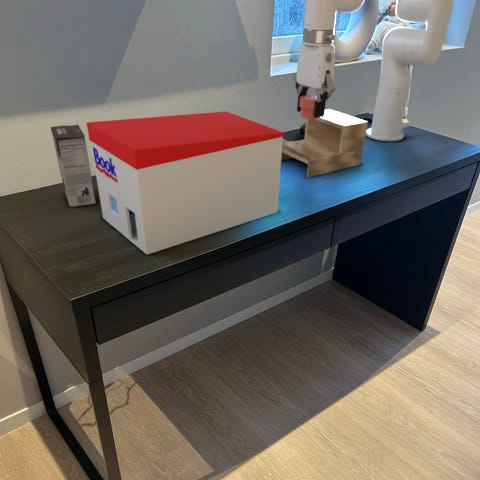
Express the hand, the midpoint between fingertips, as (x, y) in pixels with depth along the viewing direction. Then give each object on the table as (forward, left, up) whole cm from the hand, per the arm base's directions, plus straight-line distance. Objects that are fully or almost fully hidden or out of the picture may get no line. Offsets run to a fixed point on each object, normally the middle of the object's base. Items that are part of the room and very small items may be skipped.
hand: (310, 113), depth 130 cm
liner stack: (0, 0, -1) cm, 1 cm away
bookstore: (+44, +12, -15) cm, 48 cm away
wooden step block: (-5, 0, -14) cm, 15 cm away
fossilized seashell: (-20, -20, -15) cm, 32 cm away
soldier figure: (-4, -16, -15) cm, 22 cm away
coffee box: (+62, -11, -15) cm, 65 cm away
